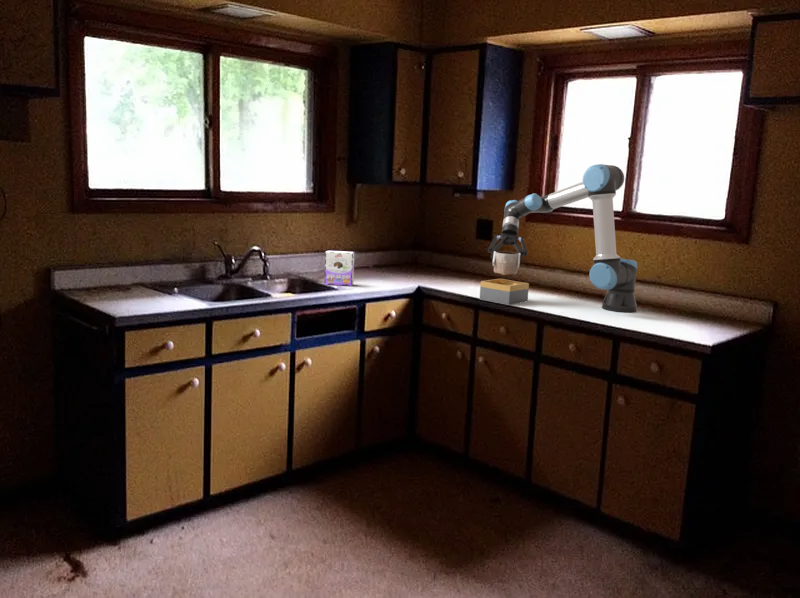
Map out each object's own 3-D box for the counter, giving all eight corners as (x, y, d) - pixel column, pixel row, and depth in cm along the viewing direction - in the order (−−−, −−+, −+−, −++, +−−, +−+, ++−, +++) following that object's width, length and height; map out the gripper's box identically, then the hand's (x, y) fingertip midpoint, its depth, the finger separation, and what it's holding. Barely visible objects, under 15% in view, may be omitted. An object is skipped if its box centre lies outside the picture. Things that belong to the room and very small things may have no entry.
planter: (499, 270, 351) (500, 250, 349) (520, 273, 346) (522, 252, 344) (489, 272, 342) (491, 252, 340) (511, 275, 336) (513, 254, 335)
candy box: (353, 284, 368) (355, 251, 366) (351, 286, 363) (353, 252, 360) (326, 282, 370) (327, 249, 367) (323, 284, 364) (325, 251, 361)
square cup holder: (527, 301, 347) (529, 283, 345) (508, 304, 335) (510, 286, 333) (498, 296, 357) (500, 278, 355) (479, 299, 345) (480, 281, 344)
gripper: (534, 235, 353) (531, 272, 341) (485, 231, 358) (480, 268, 345) (535, 224, 347) (531, 261, 335) (485, 221, 352) (480, 257, 339)
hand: (505, 265), depth 340 cm, fingers closed on planter, 11 cm apart
